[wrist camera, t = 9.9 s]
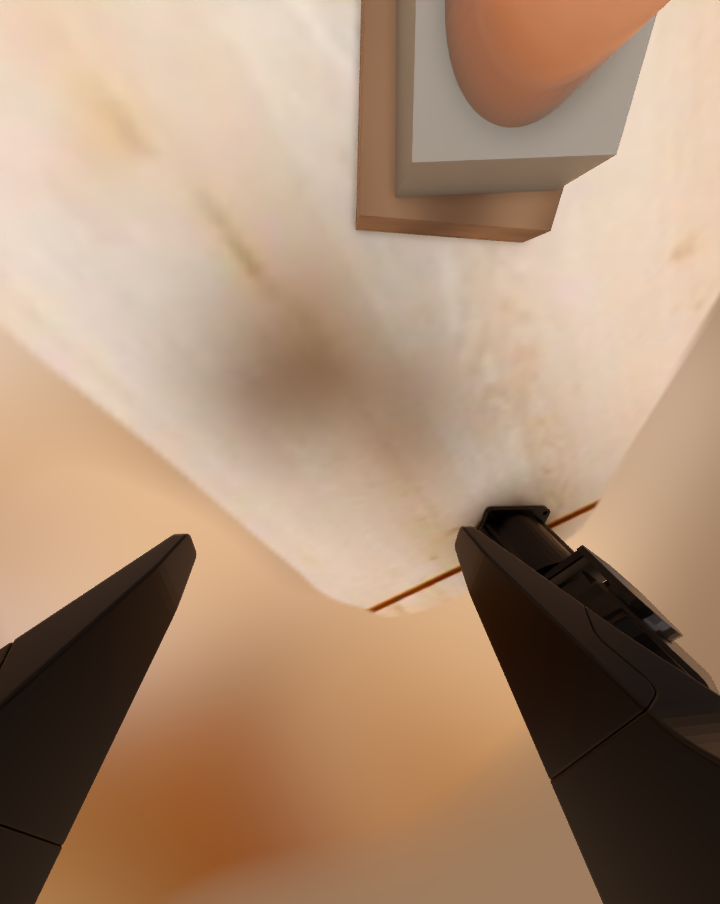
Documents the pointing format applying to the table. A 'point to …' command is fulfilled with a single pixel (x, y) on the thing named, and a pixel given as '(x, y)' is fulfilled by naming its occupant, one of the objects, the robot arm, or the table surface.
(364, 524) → the table surface
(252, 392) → the table surface
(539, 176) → the top slab
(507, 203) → the base slab
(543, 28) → the cylinder
